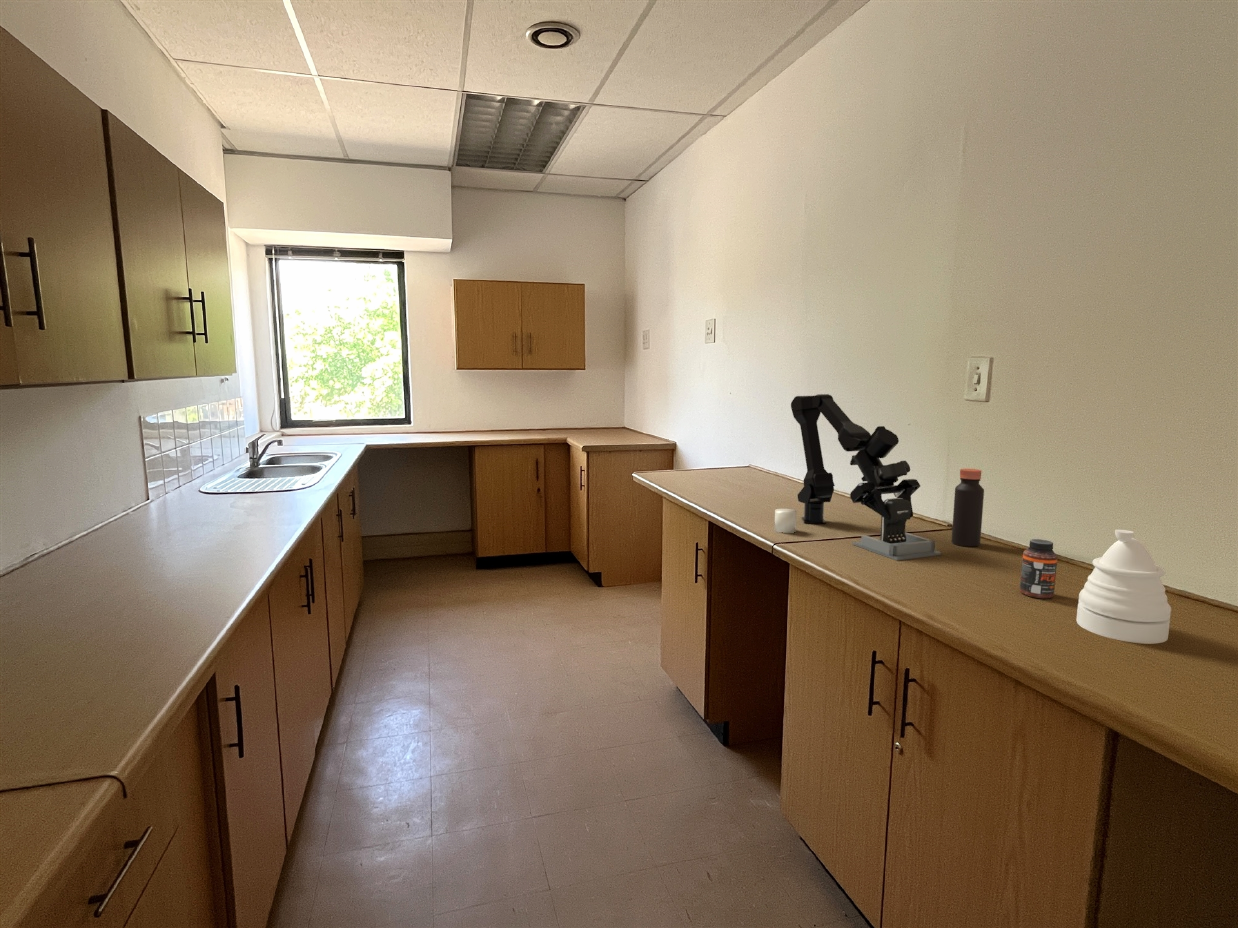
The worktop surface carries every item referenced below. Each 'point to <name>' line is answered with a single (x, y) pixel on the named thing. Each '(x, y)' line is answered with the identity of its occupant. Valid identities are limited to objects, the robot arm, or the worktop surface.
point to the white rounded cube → (785, 520)
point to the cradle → (900, 547)
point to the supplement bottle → (1039, 569)
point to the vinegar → (968, 509)
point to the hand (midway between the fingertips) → (900, 517)
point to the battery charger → (895, 520)
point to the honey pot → (1125, 595)
